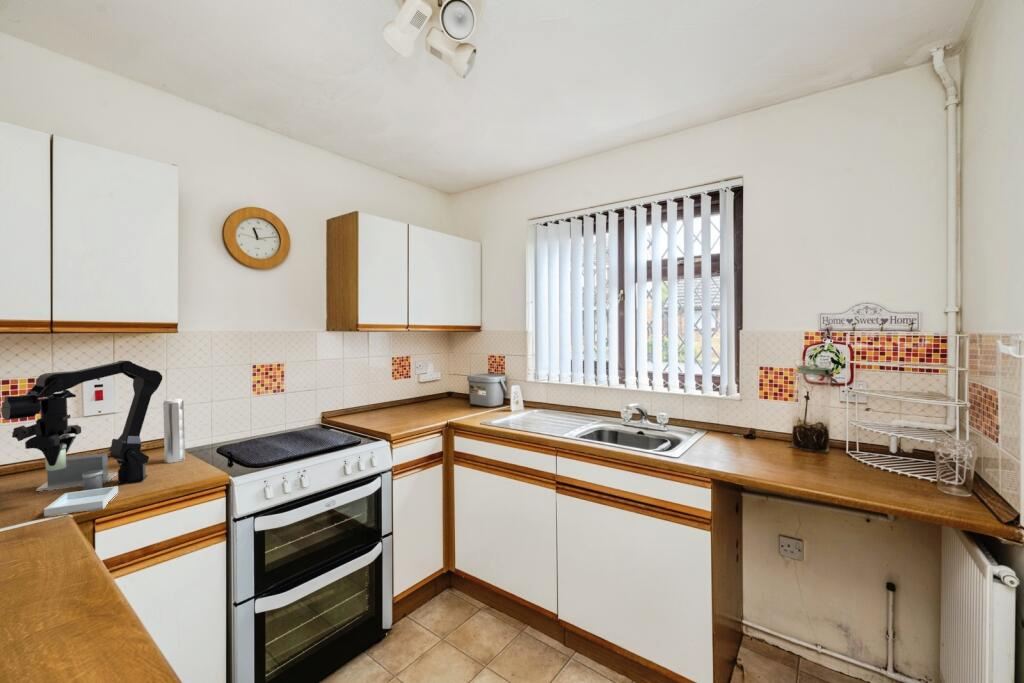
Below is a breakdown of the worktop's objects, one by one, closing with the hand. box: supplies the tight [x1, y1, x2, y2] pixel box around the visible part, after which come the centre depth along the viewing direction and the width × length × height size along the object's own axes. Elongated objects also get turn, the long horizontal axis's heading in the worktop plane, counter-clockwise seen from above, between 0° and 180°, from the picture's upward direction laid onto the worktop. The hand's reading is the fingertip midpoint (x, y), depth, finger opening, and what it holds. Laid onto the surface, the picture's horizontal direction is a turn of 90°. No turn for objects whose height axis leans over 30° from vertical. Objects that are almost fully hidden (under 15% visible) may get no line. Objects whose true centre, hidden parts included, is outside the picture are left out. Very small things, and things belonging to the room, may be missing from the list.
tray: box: [43, 485, 119, 517], centre depth 132 cm, size 13×14×2 cm
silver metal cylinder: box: [162, 398, 186, 464], centre depth 176 cm, size 6×6×25 cm
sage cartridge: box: [44, 444, 67, 472], centre depth 134 cm, size 5×5×7 cm
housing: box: [36, 452, 118, 492], centre depth 151 cm, size 18×9×9 cm, turn 118°
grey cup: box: [82, 470, 103, 491], centre depth 141 cm, size 5×5×7 cm
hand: (56, 463), depth 134 cm, fingers closed on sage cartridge, 4 cm apart
